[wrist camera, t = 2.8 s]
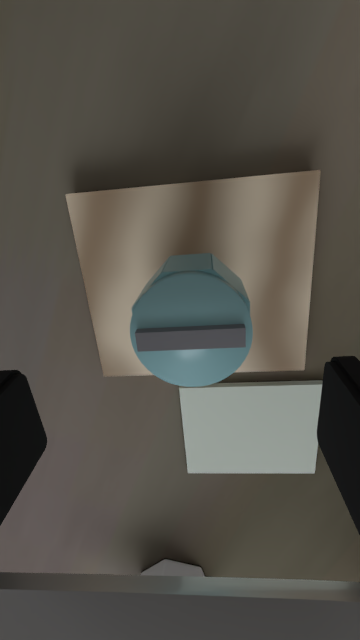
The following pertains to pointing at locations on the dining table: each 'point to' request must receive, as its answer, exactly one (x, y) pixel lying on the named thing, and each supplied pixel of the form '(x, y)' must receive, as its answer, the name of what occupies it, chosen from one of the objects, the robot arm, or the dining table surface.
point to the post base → (196, 238)
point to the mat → (251, 426)
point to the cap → (192, 321)
